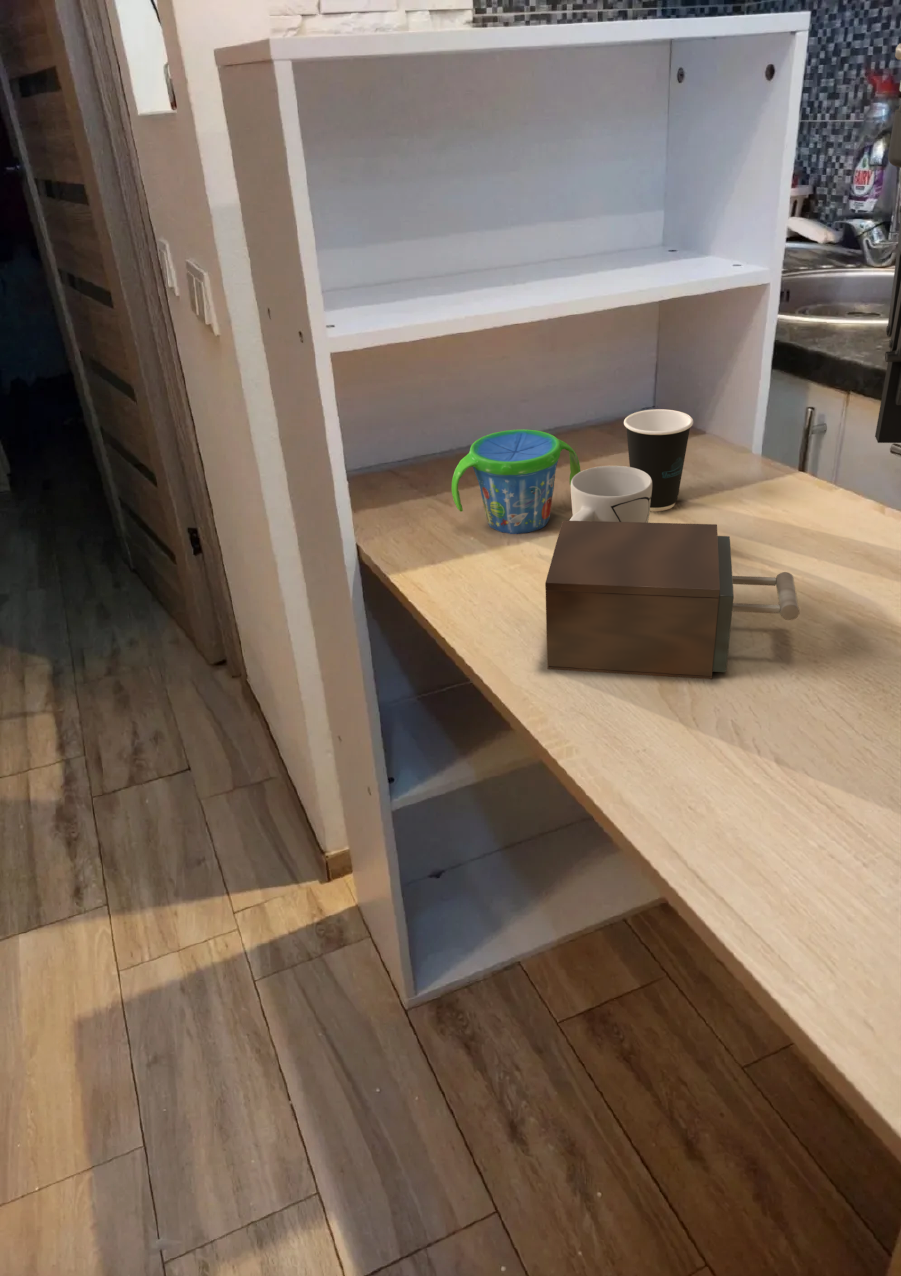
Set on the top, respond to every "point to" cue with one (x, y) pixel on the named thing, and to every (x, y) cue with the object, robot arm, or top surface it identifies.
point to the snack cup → (515, 477)
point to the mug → (611, 494)
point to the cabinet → (633, 598)
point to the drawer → (725, 607)
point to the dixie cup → (659, 451)
